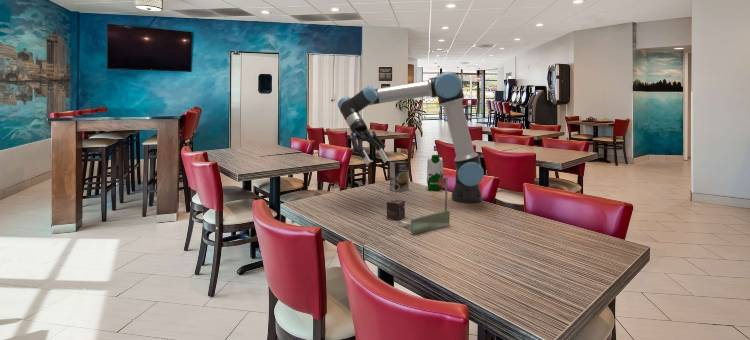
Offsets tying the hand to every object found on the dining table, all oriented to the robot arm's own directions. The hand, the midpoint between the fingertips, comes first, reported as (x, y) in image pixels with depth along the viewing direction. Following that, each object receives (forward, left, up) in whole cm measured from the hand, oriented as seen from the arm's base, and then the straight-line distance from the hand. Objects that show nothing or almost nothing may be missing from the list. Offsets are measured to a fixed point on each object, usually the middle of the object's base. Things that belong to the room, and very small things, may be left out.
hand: (377, 162), depth 196 cm
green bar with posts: (-16, +23, -23) cm, 36 cm away
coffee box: (-15, -45, -23) cm, 53 cm away
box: (-7, +11, -23) cm, 27 cm away
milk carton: (-35, -45, -23) cm, 62 cm away
